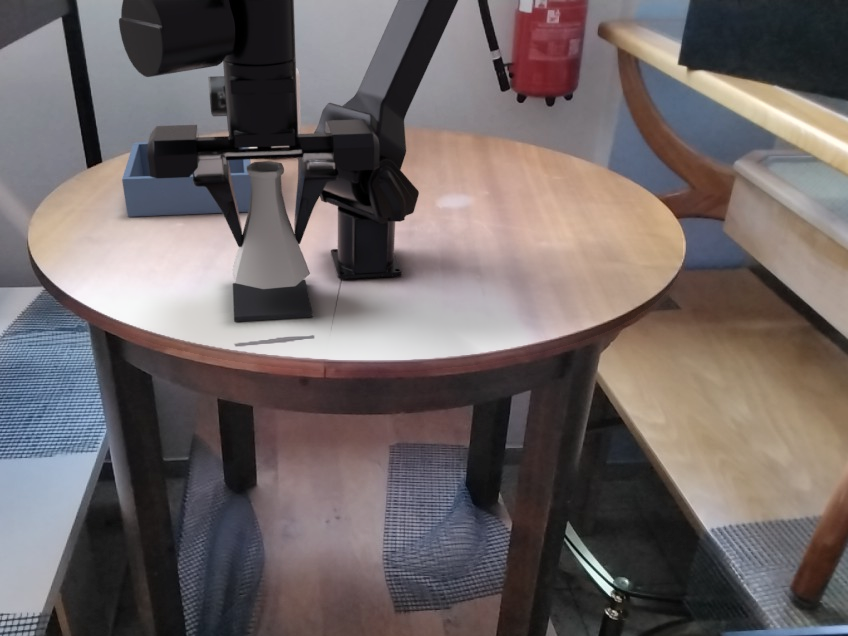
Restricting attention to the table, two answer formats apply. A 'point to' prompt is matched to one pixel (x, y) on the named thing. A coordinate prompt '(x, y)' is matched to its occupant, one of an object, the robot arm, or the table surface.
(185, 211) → the tote
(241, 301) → the coaster
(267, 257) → the flask
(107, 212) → the table surface
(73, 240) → the table surface
